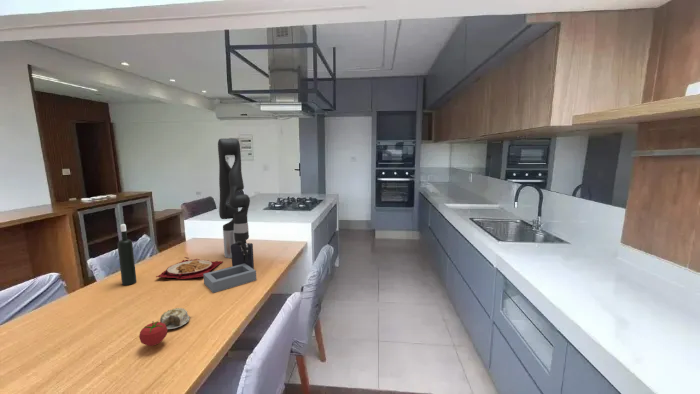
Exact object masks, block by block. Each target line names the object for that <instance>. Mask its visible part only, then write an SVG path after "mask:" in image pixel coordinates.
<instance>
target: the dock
mask: <svg viewBox="0 0 700 394" xmlns="http://www.w3.org/2000/svg"><path fill="white" fill-rule="evenodd" d="M255 281H257V270H256V269H255V268H254V269H253V268H251V267H250V266H248V265H247V264H245V263H244V264H240V265H236V266H232V265H231V266H230V267H225V268H222V269H217V270H213V271H212V270H211V271H209V272H208V273H204V274H203V284H204V285H205V286H206V287H207V288H208V289H209V290H210V291H211V293H213V294H214V293H218V292H221V291H224V290H225V291H226V290H229V289H231V288H235V287H238V286H241V285H245V284H248V283H251V282H255Z"/></svg>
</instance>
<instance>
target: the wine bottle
mask: <svg viewBox="0 0 700 394" xmlns="http://www.w3.org/2000/svg"><path fill="white" fill-rule="evenodd" d="M119 227H120V232H121V233H120V234H121V240H119V241H118V242H117V249H118V250H117V251H118V260H119V270H120V276H121V285H122V286H129V285H134V284H135V283H136V282H137V273H136V263H135V255H134V245H133V241H132V240H131V239H129V238H128V235H127V225H126V224H125V223H121V224H120V226H119Z"/></svg>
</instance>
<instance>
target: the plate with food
mask: <svg viewBox="0 0 700 394" xmlns="http://www.w3.org/2000/svg"><path fill="white" fill-rule="evenodd" d="M184 258H185V260H184V259H183V260H181V261H180V262H177V263H175V264H172V265H170V266H168V267H167V268H166V270H164V271H163V272H161V273H160V274H159V275H156V276H155V277H156V278H162V279H163V278H167V279H169V278H170V279H172V278H175V279H176V280H184V279H185V280H187V279H195V278H201V277H203V278H204V276H203V274H204V273H208V272H212V270H213V269H215V268H217V266H219V265H220V264H222V263H224V261H221V260H220V261H218V260H216V261H211V260H209V259H208V260H206V259H199V258H194V259H190V257H186V256H184Z"/></svg>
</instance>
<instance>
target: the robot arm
mask: <svg viewBox="0 0 700 394" xmlns="http://www.w3.org/2000/svg"><path fill="white" fill-rule="evenodd" d="M241 153H242V151H241V143H240V141H239V139H237V138H219V139H218V142H217V155H218V164H219V170H218V171H219V173H218V175H219V177H218V179H219V180H218V182H219V183H218V184H219V185H218V186H219V203H218V204H219V207H218V208H219V209H218V214H219V218H220V219H221V220H230V219H231V220H230V221H228V222H227V223H225V224H223V225H222V236H223V250H224V251H223V252H224V253H223V255H224V257H225V258H228V259H232V253H231V245H232V244H234V243H237V244H239V247H240V248H241V251H242V252H243V258H244V262H246V261H248V254H250V249H249V243H250V242H247V240H249V238H250V235H249V223H248V221H249V220H248V213H249V207H250V205H251V204H250V203H251V198H250V196H249V194H246V193H243V194H237V193H239V192H241V191H243V190H244V188H245V183H244V180H243V179H244V178H243V173H242V157H241V156H242V155H241ZM226 156H234V162H233V164H232V166H230V165H229V162H227V161H228V160H227V159H226ZM227 201H228V203H227ZM239 208H241V209H240V210H239ZM243 248H244V249H243Z"/></svg>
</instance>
